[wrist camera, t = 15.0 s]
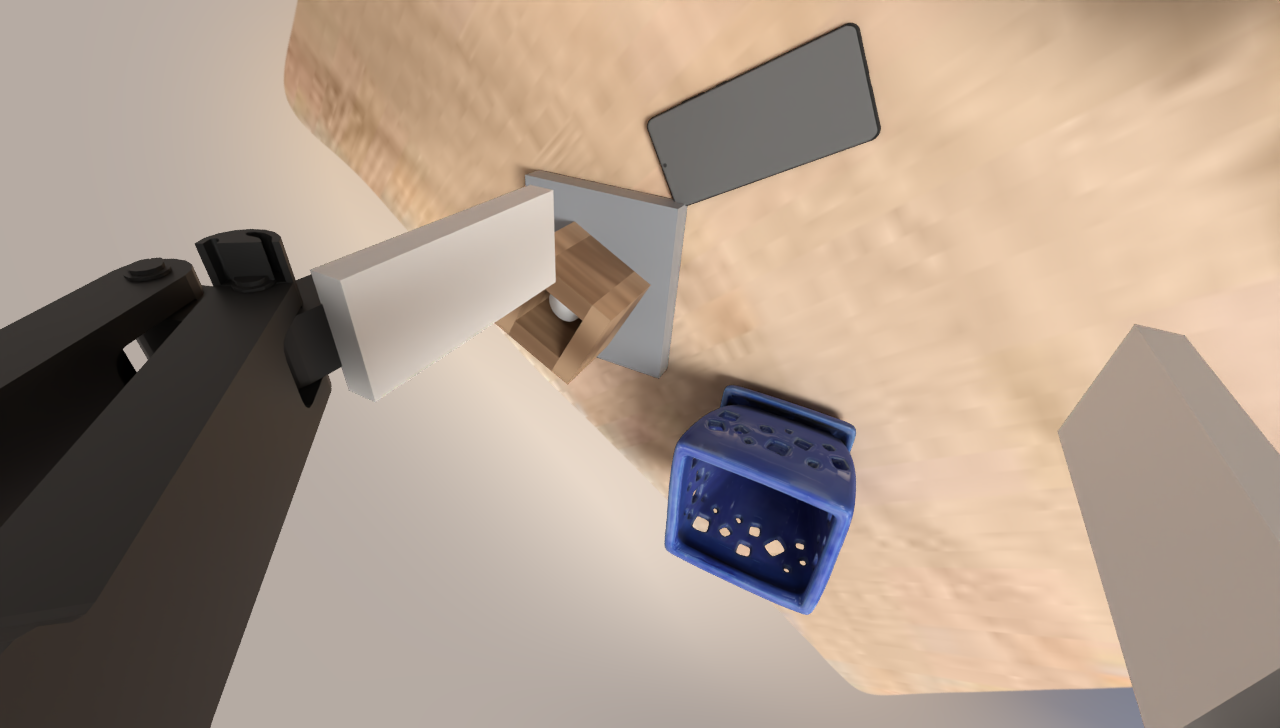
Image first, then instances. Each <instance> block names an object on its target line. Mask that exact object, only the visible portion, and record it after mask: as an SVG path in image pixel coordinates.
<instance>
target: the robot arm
mask: <svg viewBox="0 0 1280 728" xmlns="http://www.w3.org/2000/svg"><path fill="white" fill-rule="evenodd" d="M195 246H196V248H197V250H198V253H199V255H200V257H201V259H202V262H203V264H204V266H205V268H206V270H207V272H208V275H209V277H210V279H211V281H212V284H213V286H204V285H201V283H200V281H199V279H198V277H197V275H196V272H195V270H194V268H193V266H192V264H190V263H189V262H187V261H185V260H178V259H162V258H151V259H144V260H139V261H137V262H134V263H132V264H130V265H127V266H124V267H122V268H119V269H117V270H114V271H112V272H110V273H108V274H107V275H104V276H102V277H100V278H99V279H97V280H95V281H93V282H91V283H89V284H87V285H85V286H83V287H82V288H79V289H77V290H75V291H74V292H72V293H70V294H68V295H66V296H64V297H62V298H60V299H58V300H56V301H54V302H52V303H50V304H48V305H46V306H45V307H43V308H41V309H39V310H37V311H35V312H33V313H31V314H29V315H27V316H25V317H23V318H22V319H20V320H18V321H16V322H14V323H12V324H10V325H8V326H6V327H4V328H2V329H0V728H210V727H211V723H212V720H213V717H214V714H215V712H216V709H217V706H218V703H219V701H220V698H221V695H222V692H223V689H224V687H225V684H226V681H227V678H228V676H229V673H230V670H231V667H232V665H233V662H234V659H235V656H236V653H237V650H238V648H239V645H240V642H241V639H242V637H243V634H244V631H245V628H246V626H247V623H248V620H249V617H250V615H251V612H252V609H253V606H254V603H255V601H256V598H257V595H258V592H259V590H260V587H261V584H262V581H263V579H264V575H265V573H266V570H267V568H268V565H269V562H270V559H271V556H272V553H273V551H274V548H275V545H276V542H277V540H278V537H279V534H280V532H281V529H282V526H283V523H284V520H285V518H286V515H287V512H288V509H289V507H290V504H291V501H292V498H293V495H294V493H295V490H296V487H297V484H298V482H299V478H300V476H301V473H302V470H303V468H304V465H305V462H306V459H307V457H308V454H309V451H310V448H311V445H312V443H313V440H314V437H315V434H316V432H317V429H318V426H319V423H320V421H321V418H322V415H323V412H324V410H325V407H326V404H327V401H328V398H329V395H330V393H331V382H330V379H329V376H328V374H329V373H331V372H333V371H335V370H336V369H338V368H340V367H342V370H343V374H344V376H345V380H346V383H347V386H348V389H349V391H352V392H354V393H356V394H358V395H361V396H363V397H365V398H367V399H369V400H372V401H374V402H377V401H378V400H380V399H381V398H382V397H384V396H385V395H387V394H389V393H390V392H392V391H393V390H395V389H396V388H398V387H399V386H400V385H402V384H404V383H405V382H407V381H408V380H409V379H411V378H412V377H414V376H416V375H417V374H419V373H420V372H422V371H423V370H425V369H426V368H428V367H429V366H431V365H432V364H433V363H435V362H437V361H438V360H440V359H441V358H443V357H444V356H446V355H447V354H449V353H450V352H452V351H453V350H454V349H456V348H458V347H459V346H461V345H462V344H463V343H465V342H467V341H468V340H470V339H471V338H473V337H474V336H476V335H477V334H479V333H480V332H482V331H483V330H485V329H486V328H488V327H489V326H490V325H492V324H494V323H495V322H497V321H498V320H500V319H501V318H503V317H504V316H506V315H507V314H509V313H510V312H512V311H513V310H515V309H516V308H518V307H519V306H521V305H522V304H524V303H525V302H527V301H528V300H530V299H531V298H533V297H534V296H536V295H537V294H539V293H540V292H542V291H543V290H545V289H546V288H548V287H549V286H551V285H552V284H554V283H555V282H556V273H555V235H554V197H553V190H551V189H546V188H542V187H538V186H533V185H528V186H525V187H523V188H520V189H518V190H515V191H513V192H510V193H507V194H505V195H502V196H500V197H497V198H494V199H492V200H489V201H487V202H484V203H481V204H479V205H476V206H474V207H471V208H469V209H466V210H463V211H461V212H458V213H456V214H453V215H450V216H448V217H445V218H443V219H440V220H438V221H435V222H432V223H430V224H427V225H425V226H422V227H419V228H417V229H414V230H412V231H409V232H407V233H404V234H401V235H399V236H396V237H394V238H391V239H389V240H386V241H383V242H381V243H379V244H376V245H373V246H371V247H368V248H365V249H363V250H360V251H357V252H355V253H352V254H350V255H347V256H345V257H342V258H339V259H337V260H334V261H332V262H329V263H327V264H324V265H321V266H319V267H316V268H313V269H311V270H310V271H311V275H309V276H306V277H304V278H301V279H298V280H295V277H294V275H293V272H292V269H291V266H290V263H289V260H288V257H287V254H286V251H285V248H284V245H283V242H282V240H281V237H280V236H279V235H278V234H276V233H275V232H272V231H267V230H258V229H257V230H256V229H246V230H234V231H229V232H223V233H218V234H215V235H212V236H209V237H206V238H204V239H202V240H200V241H198V242H197V243H195ZM135 339H136V340H137V342H138V343H139V345H140V347H141V349H142V350H143V352H144V354H145V355H146V357H147V359H148V361H147V362H146V363H145V364H144V365H143V366H142V368H141V369H140V370H139V371H138V372H136V371H135V369H134V367H133V366H132V364H131V362H130V361H129V359H128V357H127V356H126V354H125V352H124V351H123V348H124V347H125V346H126V345H128V344H129V343H131V342H132V341H134V340H135ZM1058 435H1059V438H1060V441H1061V445H1062V448H1063V452H1064V455H1065V458H1066V462H1067V465H1068V469H1069V472H1070V475H1071V479H1072V482H1073V486H1074V489H1075V492H1076V496H1077V499H1078V503H1079V506H1080V510H1081V513H1082V516H1083V520H1084V523H1085V527H1086V530H1087V533H1088V537H1089V540H1090V544H1091V547H1092V550H1093V554H1094V557H1095V561H1096V564H1097V567H1098V571H1099V574H1100V578H1101V581H1102V584H1103V588H1104V591H1105V595H1106V598H1107V601H1108V605H1109V608H1110V612H1111V615H1112V619H1113V622H1114V625H1115V629H1116V632H1117V636H1118V639H1119V642H1120V646H1121V649H1122V653H1123V656H1124V659H1125V663H1126V666H1127V670H1128V673H1129V676H1130V680H1131V683H1132V687H1133V690H1134V693H1135V697H1136V700H1137V704H1138V707H1139V710H1140V714H1141V717H1142V721H1143V724H1144V728H1280V455H1279V453H1278V452H1277V451H1276V450H1275V448H1274V447H1273V446H1272V445H1271V443H1270V442H1269V441H1268V440H1267V438H1266V437H1265V436H1264V435H1263V433H1262V432H1261V431H1260V430H1259V428H1258V427H1257V426H1256V425H1255V423H1254V422H1253V421H1252V419H1251V418H1250V417H1249V416H1248V414H1247V413H1246V412H1245V411H1244V409H1243V408H1242V407H1241V406H1240V404H1239V403H1238V402H1237V401H1236V399H1235V398H1234V397H1233V396H1232V394H1231V393H1230V392H1229V391H1228V389H1227V388H1226V387H1225V386H1224V384H1223V383H1222V382H1221V381H1220V379H1219V378H1218V377H1217V376H1216V374H1215V373H1214V372H1213V370H1212V369H1211V368H1210V367H1209V365H1208V364H1207V363H1206V362H1205V360H1204V359H1203V358H1202V357H1201V355H1200V354H1199V353H1198V352H1197V350H1196V349H1195V348H1194V347H1193V345H1192V344H1191V343H1190V342H1189V340H1188V339H1187V338H1186V337H1185V335H1180V334H1176V333H1172V332H1167V331H1163V330H1159V329H1154V328H1150V327H1146V326H1141V325H1137V324H1135V325H1134V326H1133V327H1132V329H1131V330H1130V331H1129V333H1128V334H1127V336H1126V337H1125V338H1124V340H1123V341H1122V343H1121V344H1120V345H1119V347H1118V348H1117V350H1116V351H1115V352H1114V354H1113V355H1112V356H1111V358H1110V359H1109V361H1108V362H1107V363H1106V365H1105V366H1104V368H1103V369H1102V370H1101V372H1100V373H1099V375H1098V376H1097V377H1096V379H1095V380H1094V381H1093V383H1092V384H1091V386H1090V387H1089V388H1088V390H1087V391H1086V393H1085V394H1084V395H1083V397H1082V398H1081V400H1080V401H1079V402H1078V404H1077V405H1076V406H1075V408H1074V409H1073V411H1072V412H1071V413H1070V415H1069V416H1068V418H1067V419H1066V420H1065V422H1064V423H1063V425H1062V426H1061V427H1060V429H1059V430H1058Z"/></svg>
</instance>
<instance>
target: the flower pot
mask: <svg viewBox="0 0 1280 728" xmlns="http://www.w3.org/2000/svg"><path fill="white" fill-rule="evenodd" d="M855 436H856V429H855V427H854V426H853V425H851V424H850V423H847V422H845V421H842V420H840V419H837V418H834V417H831V416H829V415H826V414H823V413H820V412H817V411H814V410H811V409H808V408H805V407H802V406H799V405H796V404H793V403H790V402H787V401H784V400H781V399H778V398H775V397H772V396H769V395H766V394H763V393H760V392H756V391H753V390H750V389H747V388H743V387H740V386H735V385H729V386H727V387H726V388H725V390H724V392H723V397H722V401H721V406H720V408H718V409H716V410H714V411H712V412H710V413H708V414H707V415H705V416H703V417H702V418H701V419H699V420H698V421H697V422H696V423H695V424H693V425H692V426H691V427H690V428H689V429H688V430H687V431H686V432H685V433H684V434H683V436H682V437H681V438H680V439H679V441H678V442H677V444H676V447H675V451H674V455H673V461H672V467H671V475H670V483H669V495H668V509H667V521H666V532H665V548H666V550H667V551H669V552H670V553H671V554H673V555H675V556H677V557H679V558H681V559H683V560H685V561H687V562H689V563H691V564H692V565H694V566H697V567H698V568H700V569H703V570H705V571H707V572H709V573H711V574H713V575H715V576H717V577H719V578H722V579H724V580H726V581H728V582H730V583H732V584H734V585H736V586H738V587H740V588H743V589H745V590H747V591H749V592H751V593H754V594H756V595H758V596H760V597H762V598H765V599H767V600H769V601H771V602H774V603H776V604H778V605H781V606H783V607H786V608H788V609H791V610H793V611H796V612H799V613H801V614H805V615H807V614H810V613H811V612H812V611H813V610H814V608H815V607H816V605H817V603H818V601H819V599H820V597H821V595H822V593H823V591H824V589H825V587H826V585H827V582H828V580H829V578H830V575H831V573H832V570H833V567H834V565H835V562H836V560H837V557H838V554H839V552H840V549H841V547H842V545H843V542H844V540H845V537H846V534H847V532H848V529H849V526H850V523H851V520H852V516H853V512H854V506H855V495H856V474H855V468H854V463H853V460H852V457H851V455H850V451H851V448H852V445H853V442H854V440H855ZM693 458H694V459H693ZM697 471H698V473H697ZM695 490H696V492H695V494H694V496H693V493H694V491H695ZM714 508H715V509H717V513H714V511H713V509H714ZM697 516H699V517H701V518H704V519H706V520H707V521H709V526H708V530H707V532H701V531H699V530H696V529H695V528H693V526H692V525H693V522H694V521H695V519H696V517H697ZM736 518H739V519H740V520H741V523H738V522H737V520H736ZM750 527H757V528H759V529H760V534H759V536H758V537H755V536H753V535H750V534H749V529H750ZM722 528H727V529H728V530H729V532H730V535H728V536H726V537H724V536H723V535H721V533H720V531H719V530H720V529H722ZM774 540H778V541H779V542H780V543H781V544H782V546H783V548H784V552H782V553H780V554H778V555H776V556H771V555H770V554H769V553H768V551H767V550H766V549H765V545H767V544H768V543H770V542H772V541H774ZM796 543H800V544H803V545H804V549H803V550H801V549H798V548H796ZM739 544H742V545H745V546H747V547H749V548H750V554H749V556H743V555H740V554H737V553H736V550H737V547H738V545H739ZM800 561H805V563H806V565H801V564H800ZM784 568H785V569H788V570H789V572H785V571H784Z"/></svg>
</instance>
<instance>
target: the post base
mask: <svg viewBox="0 0 1280 728" xmlns="http://www.w3.org/2000/svg"><path fill="white" fill-rule="evenodd" d="M525 183H526V186H528V185H533V186H538V187H542V188H546V189H551V190H553V197H554V232H556V231H558V230H560V229H562V228H563V227H565V226H567V225H569V224H571V223H573V222H576V223H577V224H578V225H579V226H581V227H582V228H583V229H584V230H585V231H587V232H588V233H589V234H590V235H591V236H593V237H594V238H595V239H596V240H597V241H599V242H600V243H601V244H602V245H603V246H605V247H606V248H607V249H608V250H609V251H611V252H612V253H613V254H614V255H615V256H617V257H618V258H619V259H620V260H621V261H623V262H624V263H625V264H626V265H627V266H629V267H630V268H631V269H632V270H633V271H635V272H636V273H637V274H638V275H639V276H641V277H642V278H643V279H644V280H645V281H647V282H648V283H649V284H650V287H649V288H648V290H647V291H646V293H645V294H644V295H643V297H642V298H641V300H640V301H639V302H638V304H637V305H636V307H635V308H634V309H633V311H632V312H631V314H630V315H629V317H628V318H627V319H626V321H625V322H624V324H623V325H622V326H621V328H620V329H619V331H618V332H617V333H616V335H615V336H614V338H613V339H612V341H611V342H610V343H609V345H608V346H607V347H606V348H605V349H604V350H603V351H602V352H601V353H600V354H599V355H598V356H597V358H600V359H603V360H606V361H609V362H612V363H615V364H618V365H620V366H623V367H626V368H629V369H632V370H635V371H638V372H641V373H644V374H647V375H650V376H653V377H655V378H658V379H659V378H660V377H661V375H662V374H663V373H664V372H665V370H666V369H667V367H668V359H669V351H670V343H671V335H672V327H673V319H674V311H675V303H676V295H677V286H678V278H679V270H680V262H681V254H682V246H683V238H684V230H685V222H686V214H687V206H685V204H682V203H678V202H674V199H670V198H665V197H661V196H656V195H652V194H647V193H642V192H638V191H633V190H629V189H624V188H620V187H615V186H610V185H606V184H601V183H597V182H592V181H587V180H583V179H578V178H574V177H569V176H564V175H560V174H555V173H551V172H546V171H541V170H537V171H535V172H532V173H529V174H526V175H525ZM549 303H550V306H551V309H552V310H553V312H554V313H555V315H556V316H558V317H559V318H560V319H562V320H564V321H568V322H571V321H575V320H576V319H577V318H579V317H578V316H576V315H575V314H574V313H573V312H572V311H570V310H569V309H568V308H567V307H566V306H564V305H563V304H562V303H561V302H560V301H558V300H557V299H556V298H555V297H554V296H553V295H551V294H550V296H549Z"/></svg>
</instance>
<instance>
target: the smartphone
mask: <svg viewBox="0 0 1280 728" xmlns="http://www.w3.org/2000/svg"><path fill="white" fill-rule="evenodd" d="M647 129H648V132H649V134H650V137H651V140H652V142H653V145H654V148H655V151H656V153H657V156H658V159H659V161H660V164H661V167H662V170H663V172H664V175H665V178H666V180H667V183H668V186H669V189H670V191H671V194H672V197H673V199H674V202H678V203H682V204H685V206H688V205H691V204H694V203H697V202H700V201H703V200H705V199H708V198H711V197H714V196H717V195H719V194H722V193H725V192H728V191H731V190H734V189H736V188H739V187H742V186H745V185H748V184H750V183H753V182H756V181H759V180H762V179H765V178H767V177H770V176H773V175H776V174H779V173H781V172H784V171H787V170H790V169H793V168H796V167H798V166H801V165H804V164H807V163H810V162H812V161H815V160H818V159H821V158H824V157H827V156H829V155H832V154H835V153H838V152H841V151H844V150H846V149H849V148H852V147H855V146H858V145H860V144H863V143H866V142H869V141H872V140H874V139H875V138H876V137H877V136H878V135H879V133H880V130H881V126H880V121H879V117H878V112H877V107H876V103H875V98H874V94H873V89H872V86H871V81H870V77H869V70H868V65H867V60H866V57H865V53H864V47H863V43H862V37H861V32H860V28H859V27H858V25H856V24H854V23H848V24H845V25H843V26H841V27H839V28H837V29H835V30H833V31H831V32H829V33H827V34H825V35H822V36H820V37H818V38H816V39H814V40H812V41H810V42H808V43H806V44H804V45H802V46H800V47H798V48H796V49H793V50H791V51H789V52H787V53H785V54H783V55H781V56H779V57H777V58H775V59H773V60H771V61H769V62H766V63H764V64H762V65H760V66H758V67H756V68H754V69H752V70H750V71H748V72H746V73H744V74H742V75H740V76H737V77H735V78H733V79H731V80H729V81H725V82H723V83H721V84H719V85H717V86H716V87H715V88H713V89H711V90H708V91H706V92H702V93H700V94H698V95H696V96H694V97H692V98H690V99H688V100H686V101H684V102H682V104H679V105H677V106H675V107H673V108H671V109H669V110H667V111H665V112H663V113H661V114H659V115H657V116H655V117H653V118H651V119H650V120H649V121H648V124H647Z"/></svg>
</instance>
